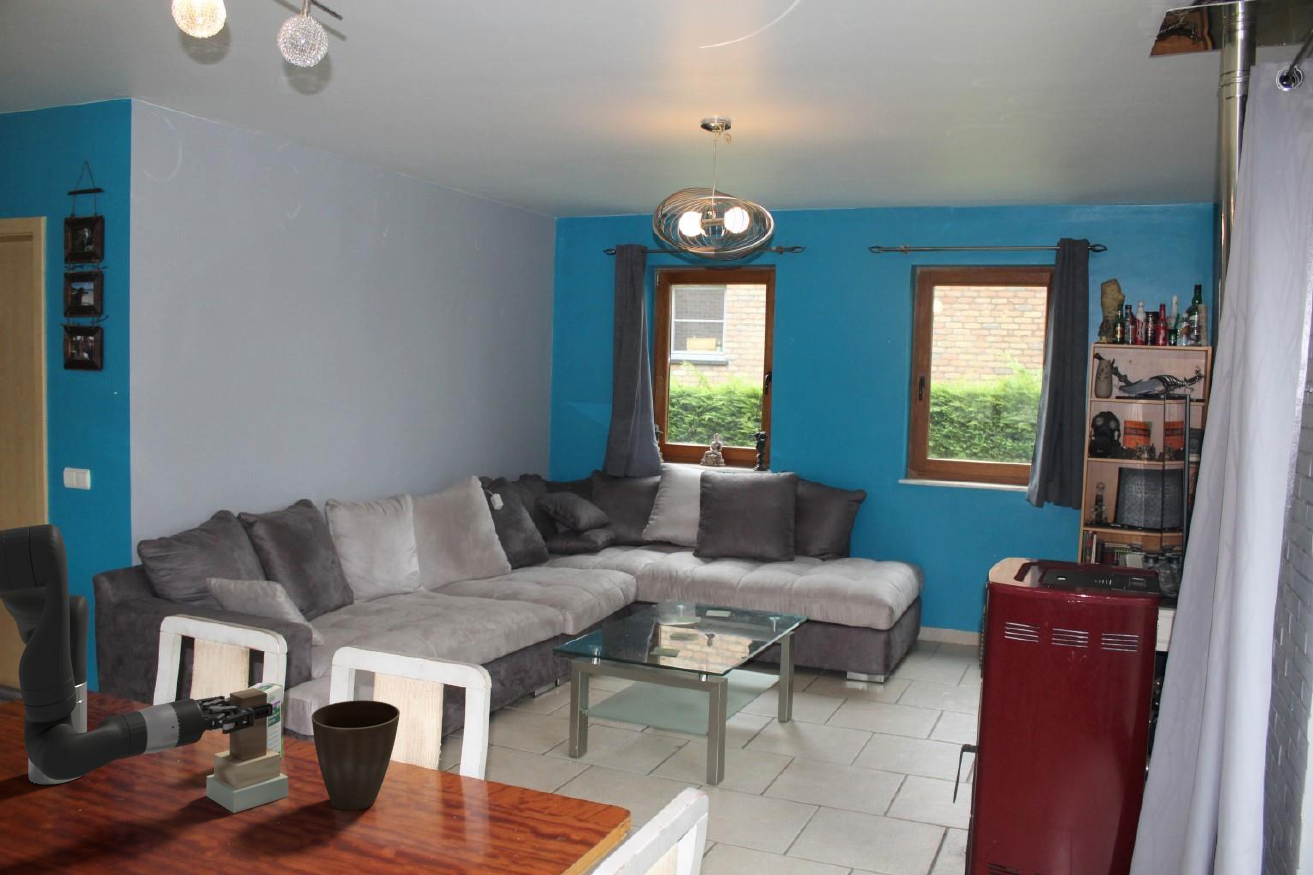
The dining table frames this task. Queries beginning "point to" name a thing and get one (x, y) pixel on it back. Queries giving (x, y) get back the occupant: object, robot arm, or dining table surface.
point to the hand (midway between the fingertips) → (262, 704)
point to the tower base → (246, 793)
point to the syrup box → (274, 715)
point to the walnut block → (254, 737)
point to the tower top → (246, 768)
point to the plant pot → (354, 749)
